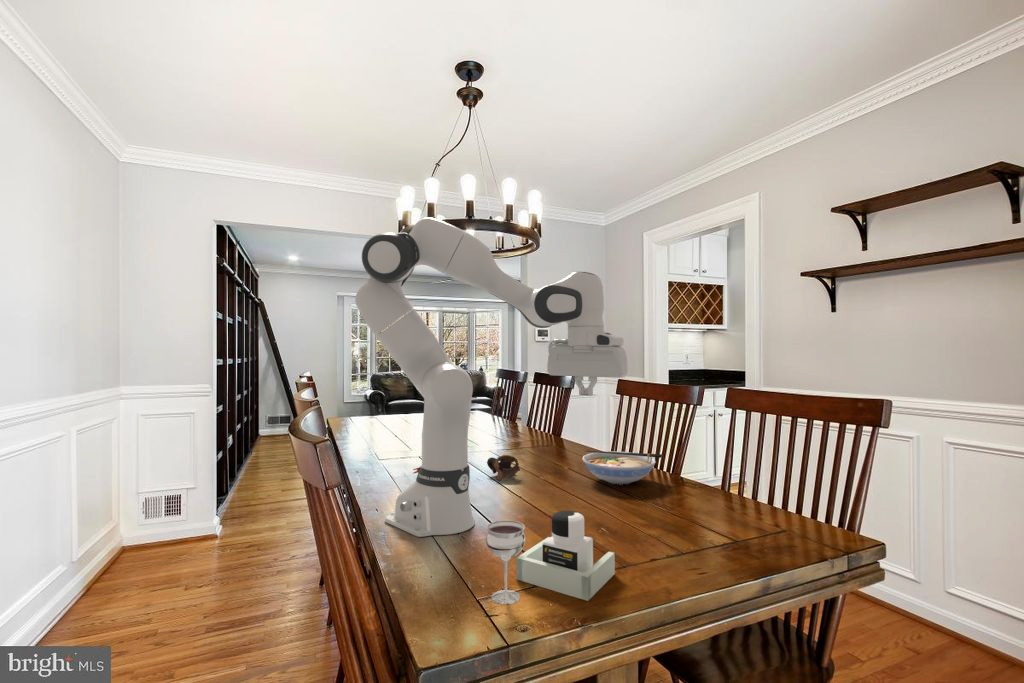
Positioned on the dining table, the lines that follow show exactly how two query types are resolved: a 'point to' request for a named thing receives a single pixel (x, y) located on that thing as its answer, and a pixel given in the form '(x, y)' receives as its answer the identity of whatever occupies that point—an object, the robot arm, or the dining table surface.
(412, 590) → the dining table surface
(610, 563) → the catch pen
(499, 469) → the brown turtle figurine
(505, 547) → the wineglass
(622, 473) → the ramen bowl
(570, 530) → the medicine bottle
